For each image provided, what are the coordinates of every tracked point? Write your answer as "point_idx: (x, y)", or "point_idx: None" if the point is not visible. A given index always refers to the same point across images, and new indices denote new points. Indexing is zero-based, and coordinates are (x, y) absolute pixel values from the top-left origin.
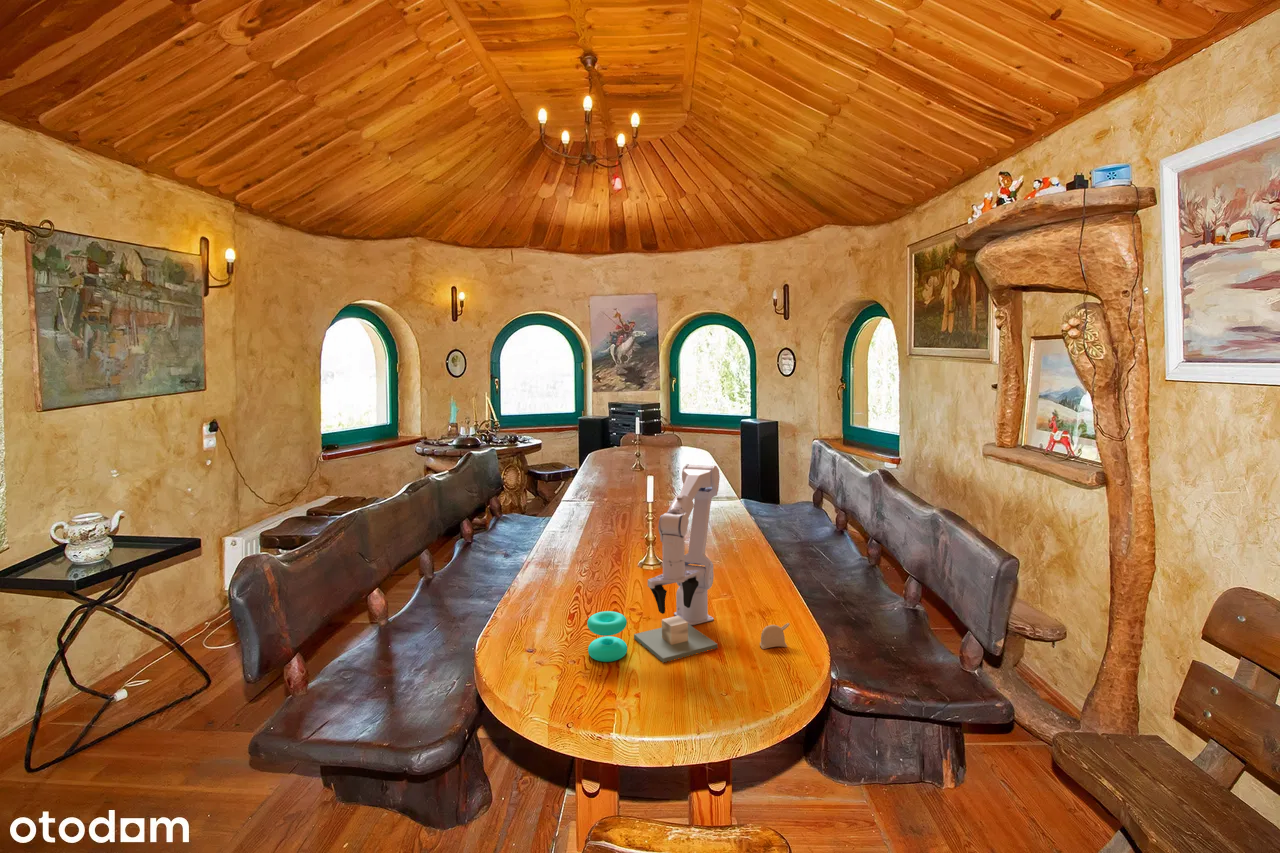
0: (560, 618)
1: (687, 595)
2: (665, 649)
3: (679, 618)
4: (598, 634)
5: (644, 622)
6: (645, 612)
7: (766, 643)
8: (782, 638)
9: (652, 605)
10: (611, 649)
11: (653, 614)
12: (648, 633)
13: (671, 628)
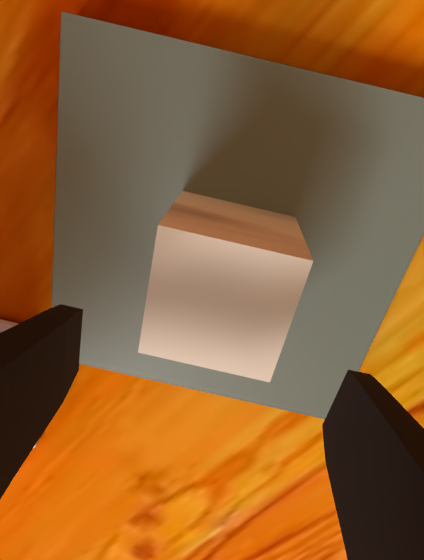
0: None
1: (4, 413)
2: (368, 196)
3: (162, 315)
4: None
5: (184, 468)
6: (122, 513)
7: None
8: None
9: (62, 530)
10: None
11: (107, 488)
12: (280, 385)
13: (308, 252)
